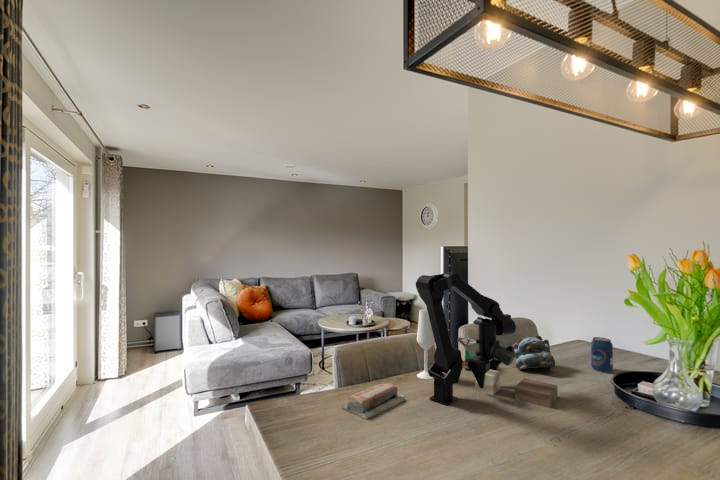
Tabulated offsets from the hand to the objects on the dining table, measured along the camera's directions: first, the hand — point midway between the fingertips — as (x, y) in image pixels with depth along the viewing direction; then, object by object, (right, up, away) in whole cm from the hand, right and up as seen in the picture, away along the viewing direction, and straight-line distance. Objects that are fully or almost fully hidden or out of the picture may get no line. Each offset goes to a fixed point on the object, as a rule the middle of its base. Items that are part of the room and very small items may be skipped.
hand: (487, 384), depth 121 cm
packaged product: (-38, -2, -11) cm, 40 cm away
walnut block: (+13, -2, -6) cm, 15 cm away
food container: (+1, -2, +23) cm, 24 cm away
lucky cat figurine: (+25, -2, +21) cm, 33 cm away
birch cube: (0, -2, 0) cm, 2 cm away
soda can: (+51, -2, +19) cm, 54 cm away
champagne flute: (-18, -2, +13) cm, 22 cm away
